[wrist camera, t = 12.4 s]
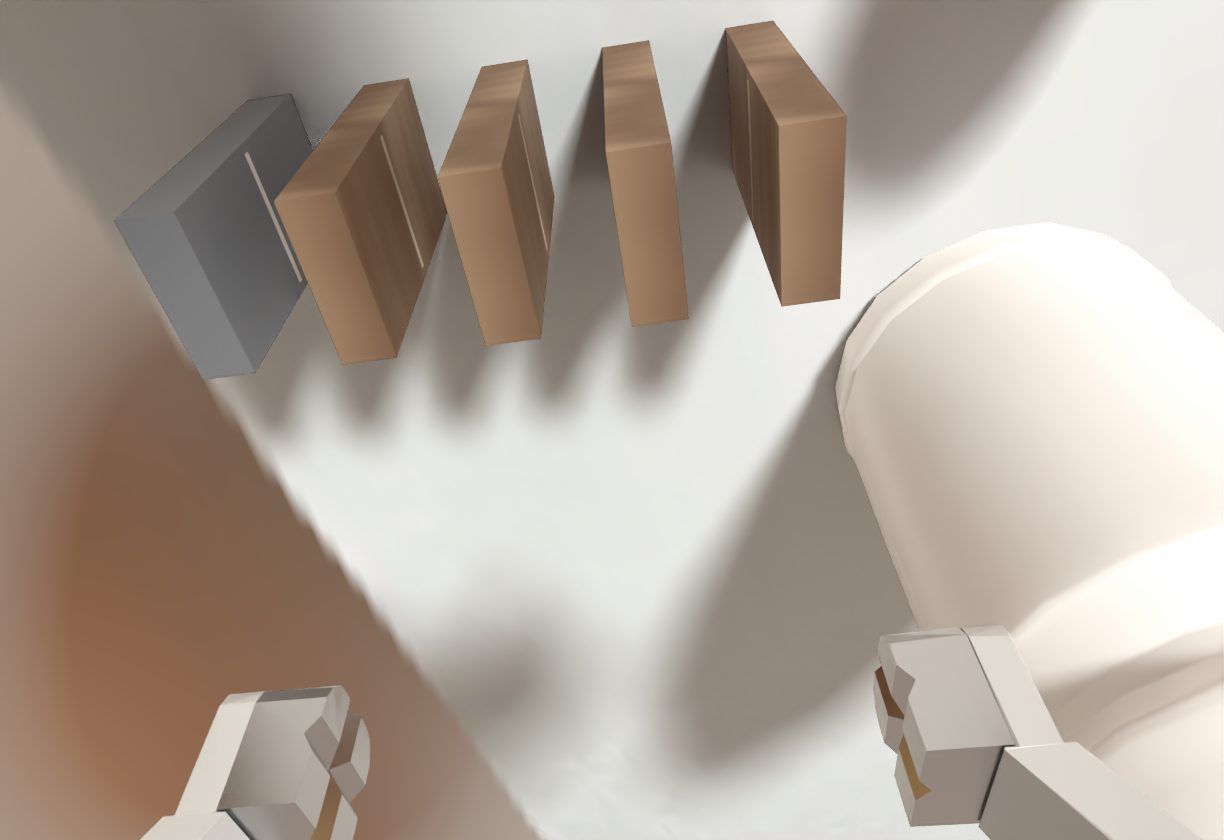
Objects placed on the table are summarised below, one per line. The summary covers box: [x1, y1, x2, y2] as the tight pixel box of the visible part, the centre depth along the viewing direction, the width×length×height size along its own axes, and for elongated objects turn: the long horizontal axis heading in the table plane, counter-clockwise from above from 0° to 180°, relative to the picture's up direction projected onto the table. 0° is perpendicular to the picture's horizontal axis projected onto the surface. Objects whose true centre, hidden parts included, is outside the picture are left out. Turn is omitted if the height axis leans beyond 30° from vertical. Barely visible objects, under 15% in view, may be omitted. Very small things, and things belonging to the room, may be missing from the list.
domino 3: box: [602, 40, 688, 326], centre depth 25 cm, size 2×5×10 cm, turn 8°
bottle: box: [835, 222, 1224, 840], centre depth 25 cm, size 14×14×28 cm
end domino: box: [114, 94, 313, 380], centre depth 26 cm, size 2×5×10 cm, turn 8°
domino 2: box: [438, 60, 554, 346], centre depth 25 cm, size 2×5×10 cm, turn 8°
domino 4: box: [726, 21, 846, 306], centre depth 25 cm, size 2×5×10 cm, turn 8°
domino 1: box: [274, 78, 447, 364], centre depth 26 cm, size 2×5×10 cm, turn 9°
